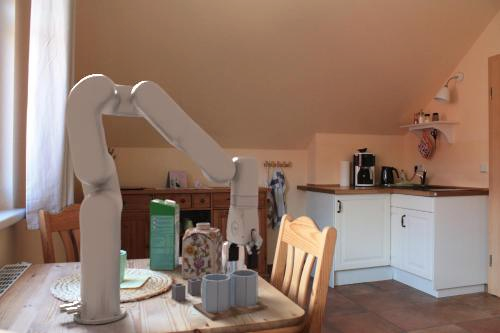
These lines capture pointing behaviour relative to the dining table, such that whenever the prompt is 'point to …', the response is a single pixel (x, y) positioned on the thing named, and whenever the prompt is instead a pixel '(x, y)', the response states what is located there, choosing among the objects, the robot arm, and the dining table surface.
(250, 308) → the rack board
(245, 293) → the tubes
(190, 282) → the stand
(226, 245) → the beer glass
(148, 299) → the dining table surface
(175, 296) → the stand
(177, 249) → the milk carton
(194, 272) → the decorative jar
